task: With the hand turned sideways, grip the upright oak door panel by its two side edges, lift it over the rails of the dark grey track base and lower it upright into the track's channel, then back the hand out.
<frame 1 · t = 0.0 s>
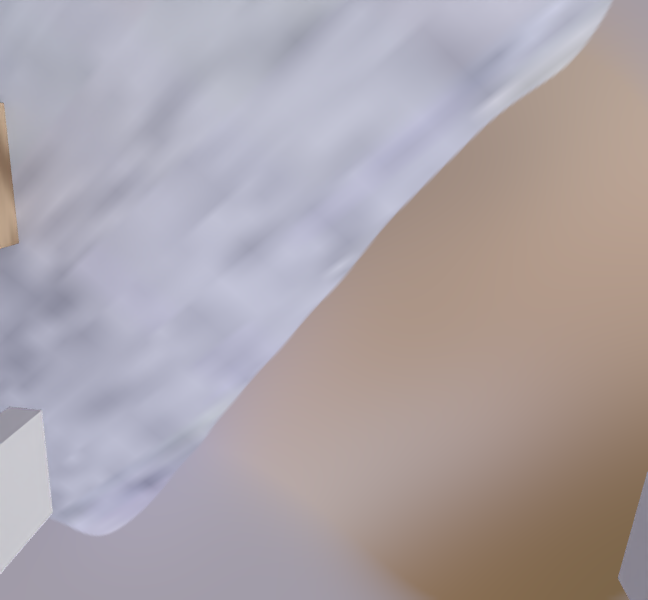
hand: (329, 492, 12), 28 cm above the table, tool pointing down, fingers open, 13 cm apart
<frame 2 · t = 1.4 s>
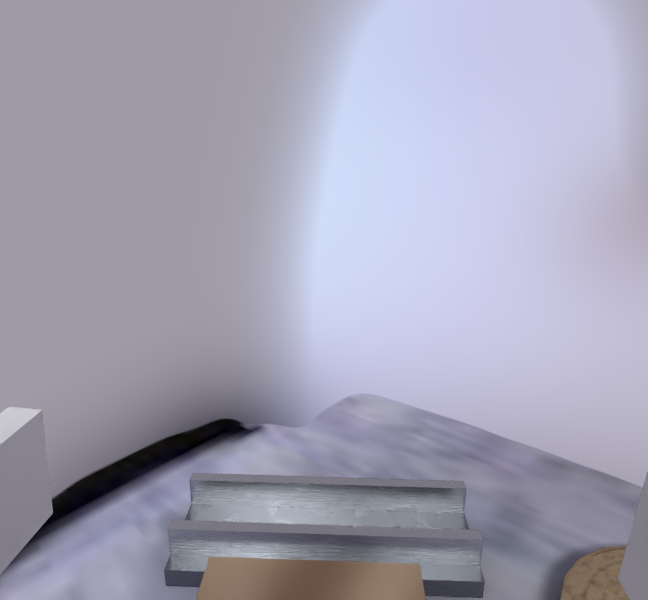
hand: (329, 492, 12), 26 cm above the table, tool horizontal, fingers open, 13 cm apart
track: (325, 542, 46), on the table
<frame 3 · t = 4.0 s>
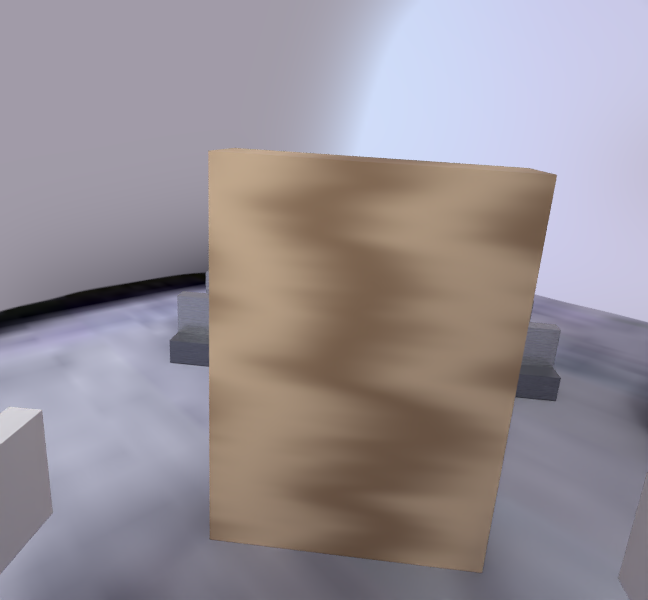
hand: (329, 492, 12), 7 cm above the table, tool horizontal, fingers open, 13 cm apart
track: (360, 350, 38), on the table
door: (345, 527, 21), on the table
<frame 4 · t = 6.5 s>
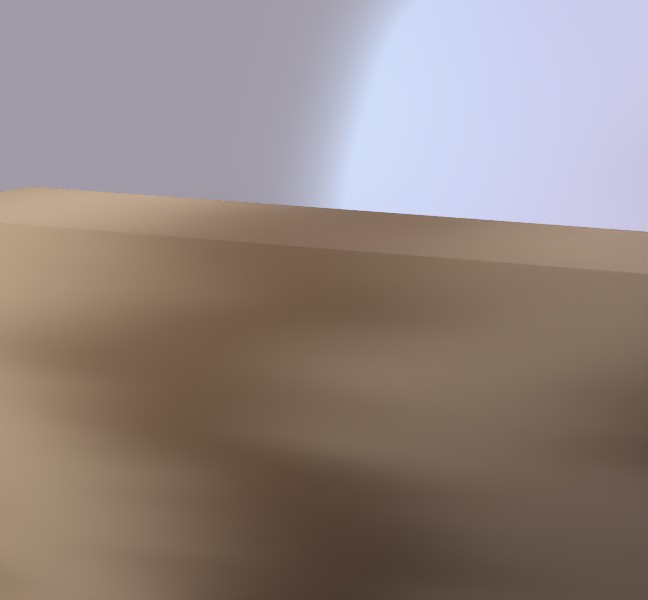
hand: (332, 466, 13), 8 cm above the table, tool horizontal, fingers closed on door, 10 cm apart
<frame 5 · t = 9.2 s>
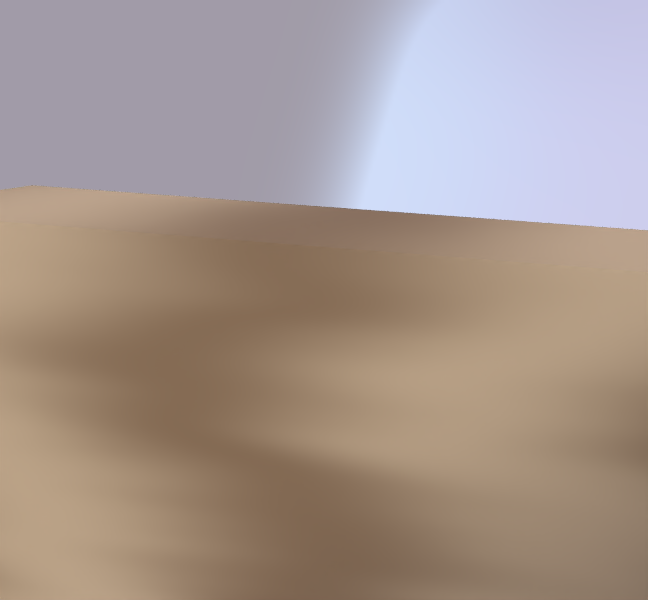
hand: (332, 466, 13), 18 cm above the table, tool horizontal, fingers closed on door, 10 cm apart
when the fingers open (10 cm above the table, at t = 11.9 s): door stays where it is, resting on track.
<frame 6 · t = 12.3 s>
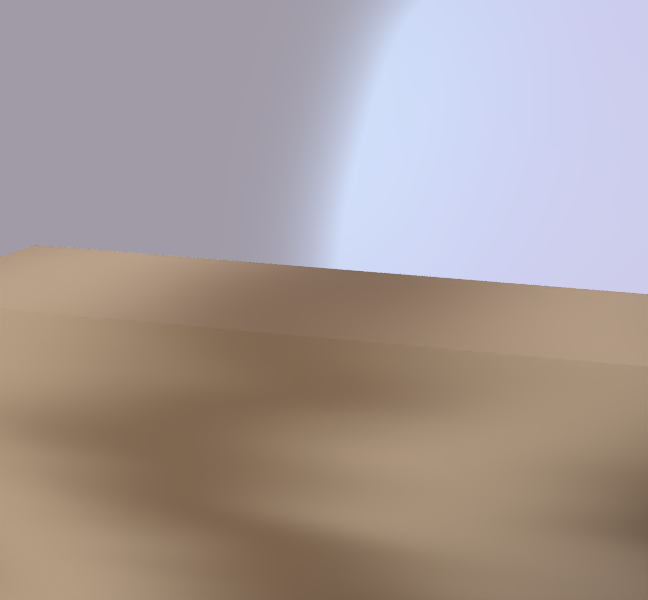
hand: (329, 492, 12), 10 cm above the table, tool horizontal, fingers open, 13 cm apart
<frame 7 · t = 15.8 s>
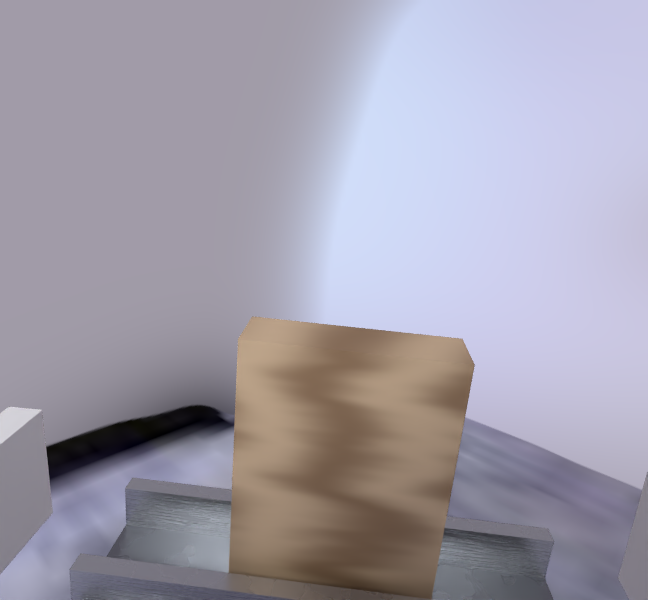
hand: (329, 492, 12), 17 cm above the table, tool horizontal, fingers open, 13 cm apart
door: (328, 586, 28), point 1 cm above the table, touching track
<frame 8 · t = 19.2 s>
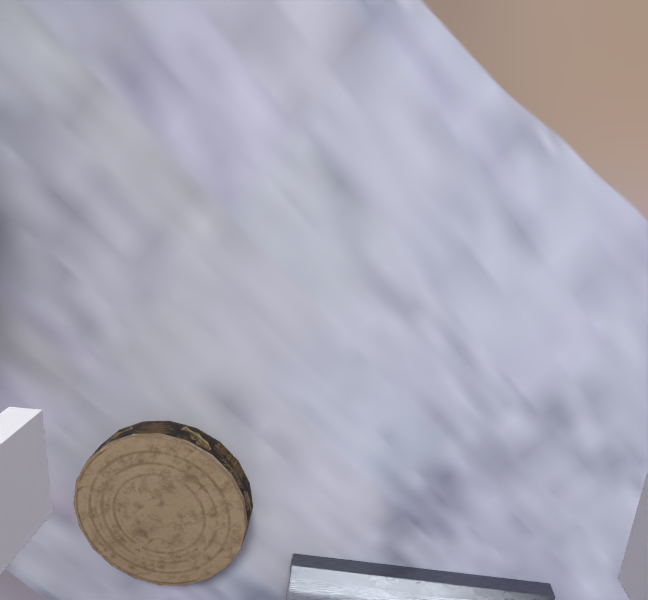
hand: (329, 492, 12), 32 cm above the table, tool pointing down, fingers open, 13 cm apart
wood log slice: (171, 492, 51), on the table
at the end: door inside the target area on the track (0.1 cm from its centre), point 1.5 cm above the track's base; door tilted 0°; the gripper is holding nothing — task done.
